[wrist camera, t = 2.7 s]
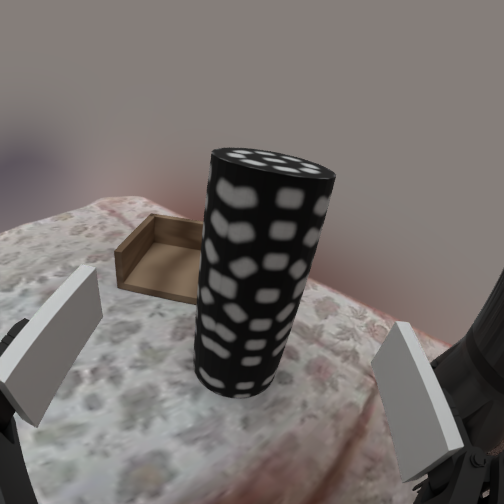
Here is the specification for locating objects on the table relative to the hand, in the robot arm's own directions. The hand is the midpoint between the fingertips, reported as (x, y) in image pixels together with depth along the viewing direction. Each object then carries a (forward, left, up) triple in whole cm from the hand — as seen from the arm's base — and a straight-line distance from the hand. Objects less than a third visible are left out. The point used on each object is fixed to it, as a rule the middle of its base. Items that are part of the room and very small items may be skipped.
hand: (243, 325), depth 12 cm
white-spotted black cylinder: (-1, -10, -15) cm, 18 cm away
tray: (+9, -25, -15) cm, 31 cm away
